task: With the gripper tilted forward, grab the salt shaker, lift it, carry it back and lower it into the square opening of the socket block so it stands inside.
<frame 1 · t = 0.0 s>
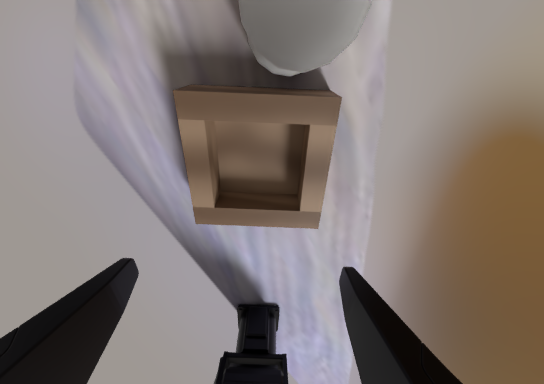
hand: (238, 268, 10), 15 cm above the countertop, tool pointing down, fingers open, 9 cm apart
salt shaker: (287, 32, 18), on the countertop
socket block: (260, 153, 23), on the countertop
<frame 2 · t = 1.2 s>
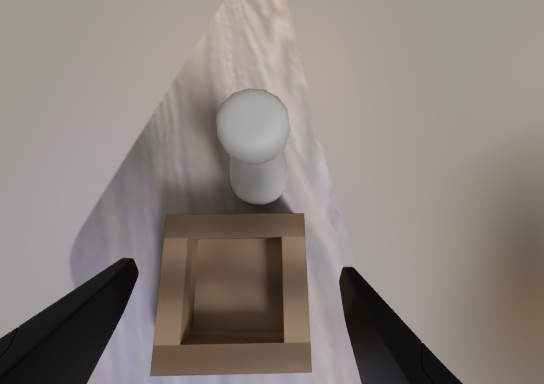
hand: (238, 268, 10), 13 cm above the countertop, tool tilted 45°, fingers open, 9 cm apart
salt shaker: (260, 183, 25), on the countertop
socket block: (239, 281, 22), on the countertop
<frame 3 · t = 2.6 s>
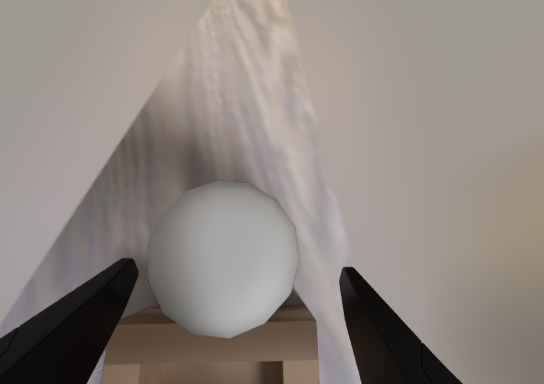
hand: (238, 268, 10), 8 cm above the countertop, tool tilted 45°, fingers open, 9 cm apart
salt shaker: (253, 251, 18), on the countertop
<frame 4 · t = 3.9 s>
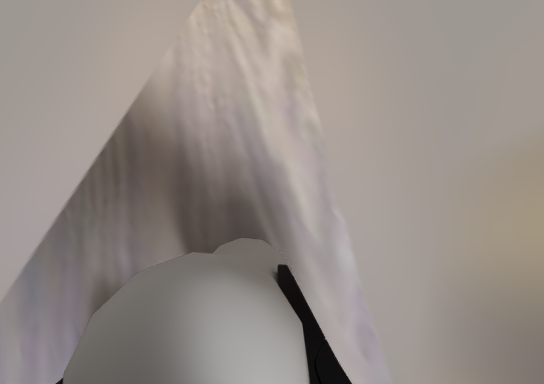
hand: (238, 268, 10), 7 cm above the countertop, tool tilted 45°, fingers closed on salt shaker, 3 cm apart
salt shaker: (249, 281, 16), on the countertop, touching gripper
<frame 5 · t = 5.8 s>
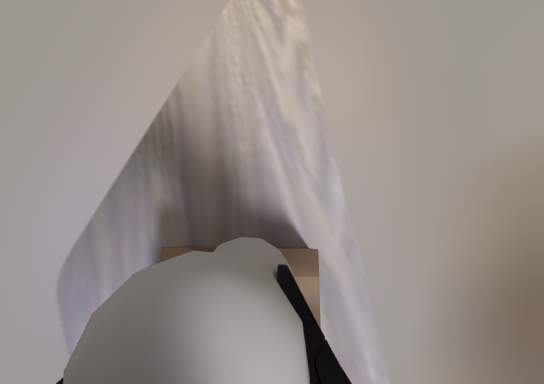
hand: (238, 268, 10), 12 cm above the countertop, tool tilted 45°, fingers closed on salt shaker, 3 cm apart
salt shaker: (249, 280, 16), point 5 cm above the countertop, touching gripper
socket block: (243, 317, 20), on the countertop
when the fingers open (8 cm above the countertop, at t = 7.9 s): salt shaker stays where it is, resting on socket block.
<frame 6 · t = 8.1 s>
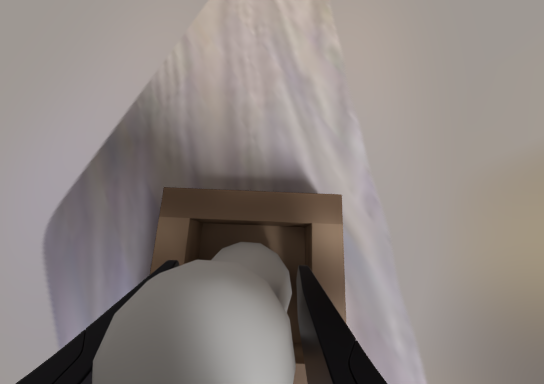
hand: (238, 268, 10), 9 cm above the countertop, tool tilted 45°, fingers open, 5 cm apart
salt shaker: (249, 282, 17), point 1 cm above the countertop, touching socket block
socket block: (251, 277, 18), on the countertop
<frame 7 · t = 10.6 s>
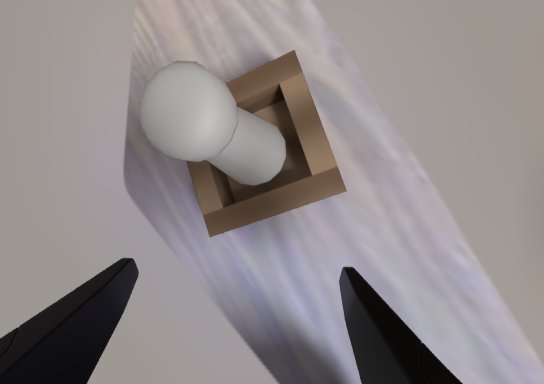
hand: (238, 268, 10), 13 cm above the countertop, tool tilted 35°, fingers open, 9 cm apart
salt shaker: (261, 156, 22), point 1 cm above the countertop, touching socket block
socket block: (263, 155, 23), on the countertop
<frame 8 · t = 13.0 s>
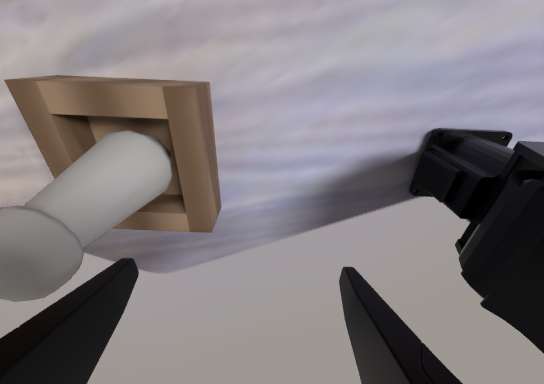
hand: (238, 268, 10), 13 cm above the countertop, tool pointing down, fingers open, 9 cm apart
salt shaker: (149, 155, 20), point 1 cm above the countertop, touching socket block
socket block: (151, 151, 21), on the countertop
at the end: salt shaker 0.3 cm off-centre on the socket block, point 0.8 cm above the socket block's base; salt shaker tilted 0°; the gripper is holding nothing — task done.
